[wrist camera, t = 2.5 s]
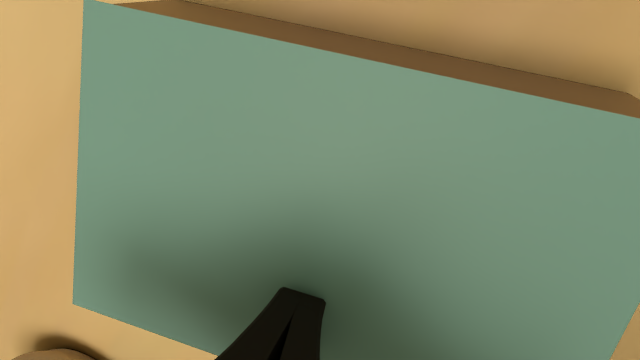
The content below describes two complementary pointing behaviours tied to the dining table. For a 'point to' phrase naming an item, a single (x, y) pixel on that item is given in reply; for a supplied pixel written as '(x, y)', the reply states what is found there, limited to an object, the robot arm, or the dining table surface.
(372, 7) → the dining table surface
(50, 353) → the teacup
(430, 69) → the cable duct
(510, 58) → the dining table surface
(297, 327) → the robot arm
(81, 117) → the lid
